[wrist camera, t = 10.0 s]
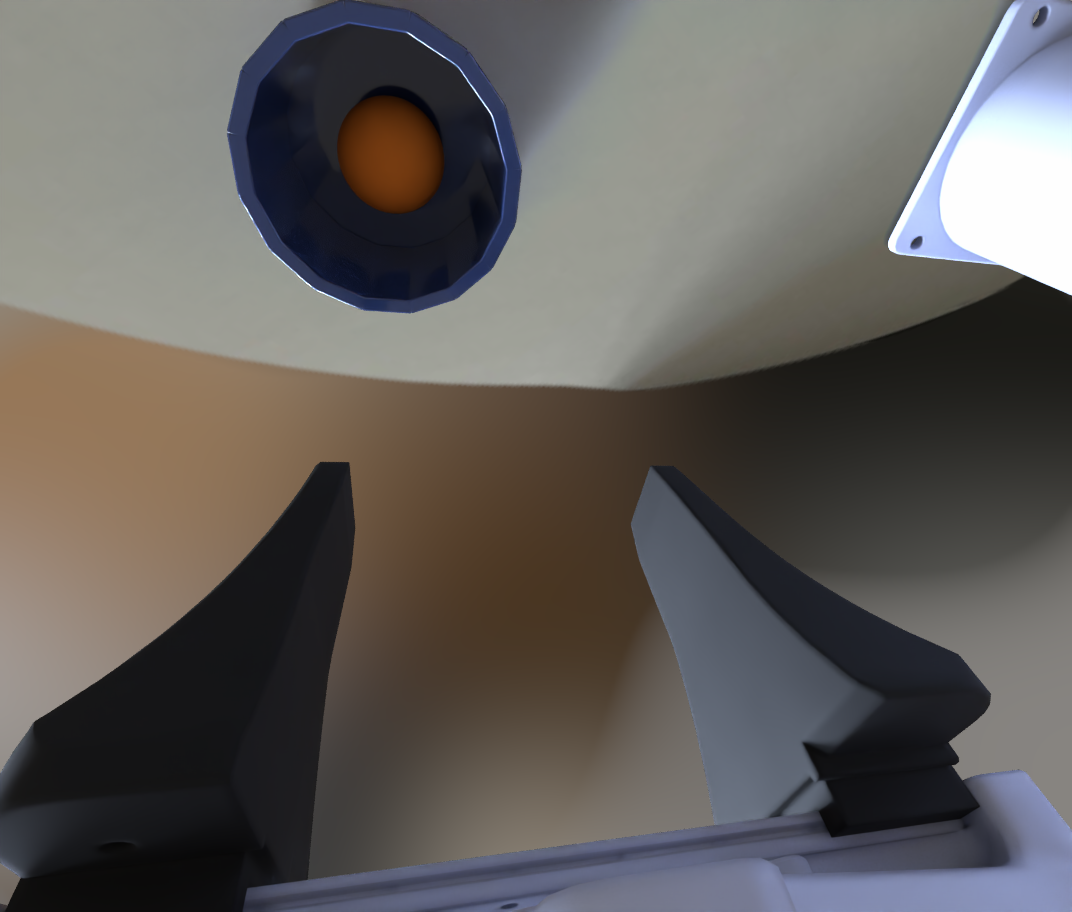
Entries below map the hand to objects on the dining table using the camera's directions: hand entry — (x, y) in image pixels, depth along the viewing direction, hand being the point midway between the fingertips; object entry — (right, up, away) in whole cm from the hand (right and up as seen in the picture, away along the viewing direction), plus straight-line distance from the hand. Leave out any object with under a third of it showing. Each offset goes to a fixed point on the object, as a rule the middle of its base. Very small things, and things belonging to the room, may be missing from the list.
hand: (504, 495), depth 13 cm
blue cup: (-4, +11, +4) cm, 12 cm away
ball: (-3, +10, +3) cm, 11 cm away
